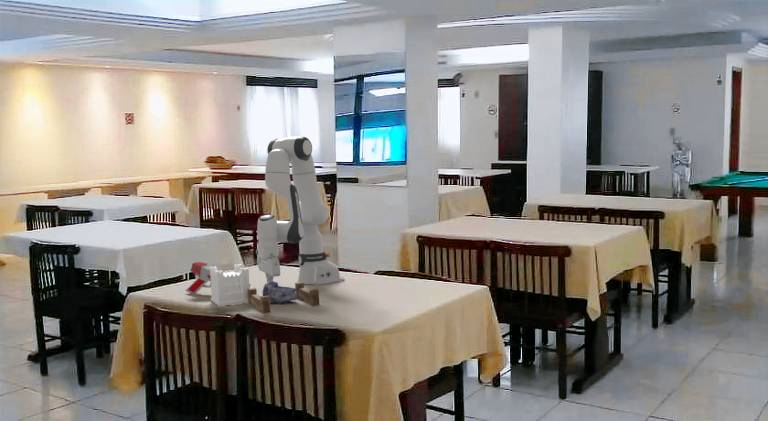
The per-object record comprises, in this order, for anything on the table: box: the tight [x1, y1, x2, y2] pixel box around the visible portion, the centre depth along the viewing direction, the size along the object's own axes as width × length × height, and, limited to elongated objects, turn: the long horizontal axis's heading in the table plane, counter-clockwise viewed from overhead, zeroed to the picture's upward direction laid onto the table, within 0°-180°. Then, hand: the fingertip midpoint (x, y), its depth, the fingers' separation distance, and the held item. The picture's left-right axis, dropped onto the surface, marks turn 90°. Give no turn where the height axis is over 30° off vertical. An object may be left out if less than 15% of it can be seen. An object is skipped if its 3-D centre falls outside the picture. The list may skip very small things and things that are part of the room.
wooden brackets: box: [247, 282, 321, 314], centre depth 329 cm, size 25×20×6 cm
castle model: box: [210, 263, 251, 307], centre depth 338 cm, size 14×14×15 cm
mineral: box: [262, 280, 298, 305], centre depth 334 cm, size 14×10×10 cm
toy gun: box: [185, 261, 251, 295], centre depth 354 cm, size 7×28×15 cm, turn 74°
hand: (270, 283), depth 344 cm, fingers closed
